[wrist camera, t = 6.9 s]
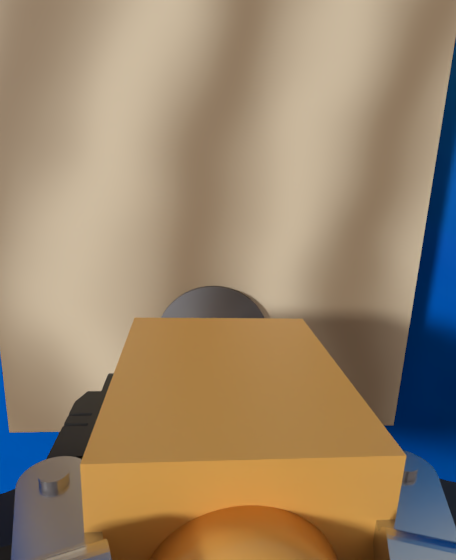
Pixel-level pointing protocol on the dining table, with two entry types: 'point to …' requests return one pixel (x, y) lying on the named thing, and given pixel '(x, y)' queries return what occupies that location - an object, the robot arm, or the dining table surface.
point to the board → (212, 179)
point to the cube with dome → (236, 447)
